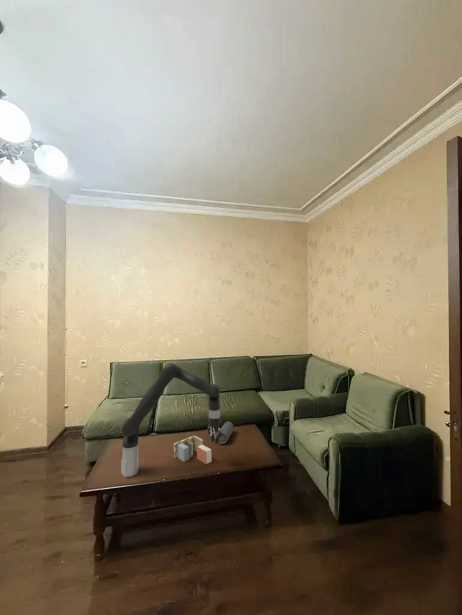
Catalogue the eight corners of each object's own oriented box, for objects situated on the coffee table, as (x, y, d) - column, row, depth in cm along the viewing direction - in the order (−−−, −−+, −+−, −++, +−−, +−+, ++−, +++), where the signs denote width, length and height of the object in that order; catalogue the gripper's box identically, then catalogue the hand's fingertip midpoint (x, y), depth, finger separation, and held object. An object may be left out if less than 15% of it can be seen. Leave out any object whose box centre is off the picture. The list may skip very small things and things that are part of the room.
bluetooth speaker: (227, 446, 203) (227, 432, 204) (215, 445, 206) (215, 431, 206) (234, 433, 225) (234, 421, 226) (223, 432, 228) (223, 420, 228)
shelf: (182, 463, 180) (182, 448, 180) (173, 458, 187) (173, 443, 187) (203, 454, 192) (203, 439, 192) (194, 449, 199) (194, 435, 200)
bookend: (188, 458, 186) (188, 445, 186) (182, 455, 191) (182, 442, 191) (192, 456, 189) (192, 443, 189) (187, 453, 193) (187, 440, 194)
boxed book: (197, 458, 186) (197, 446, 186) (202, 456, 189) (202, 444, 190) (206, 464, 179) (206, 451, 179) (211, 461, 182) (211, 449, 182)
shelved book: (183, 461, 182) (183, 449, 182) (177, 457, 188) (177, 445, 188) (188, 459, 185) (188, 447, 185) (182, 455, 190) (182, 443, 191)
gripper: (203, 414, 180) (203, 441, 179) (217, 420, 170) (217, 448, 169) (211, 411, 185) (212, 437, 184) (225, 417, 175) (226, 444, 174)
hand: (214, 442), depth 177 cm, fingers open, 3 cm apart
